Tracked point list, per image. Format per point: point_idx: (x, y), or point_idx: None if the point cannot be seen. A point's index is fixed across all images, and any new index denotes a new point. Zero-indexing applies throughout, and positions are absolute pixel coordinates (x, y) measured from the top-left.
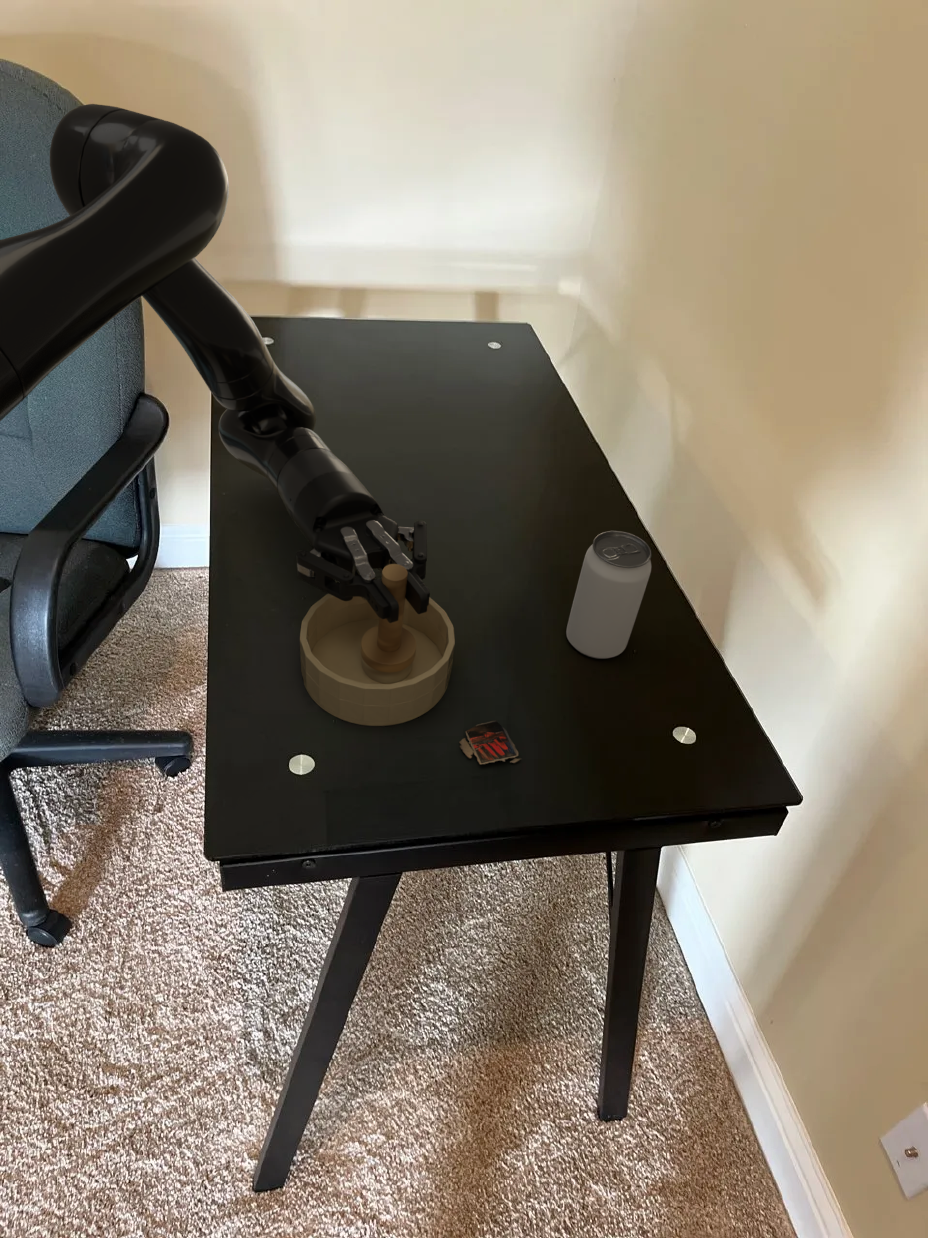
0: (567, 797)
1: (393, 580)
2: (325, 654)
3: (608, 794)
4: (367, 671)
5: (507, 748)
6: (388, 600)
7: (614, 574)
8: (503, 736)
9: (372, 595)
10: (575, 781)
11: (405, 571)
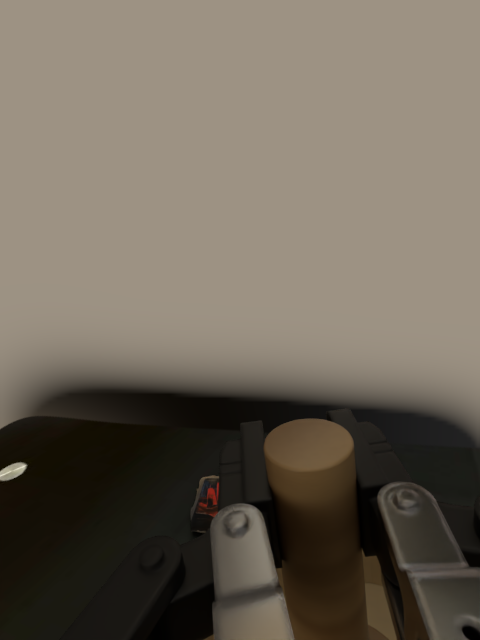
0: (188, 440)
1: (323, 420)
2: None
3: (149, 436)
4: None
5: (208, 488)
6: (351, 414)
7: None
8: (200, 506)
9: (396, 455)
10: (166, 451)
11: (270, 440)
